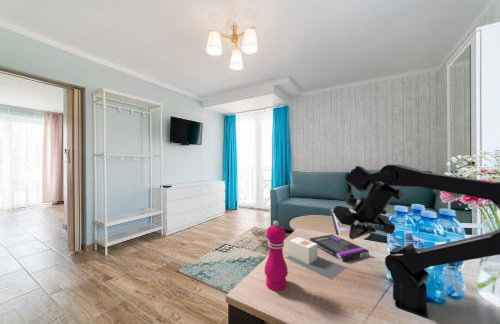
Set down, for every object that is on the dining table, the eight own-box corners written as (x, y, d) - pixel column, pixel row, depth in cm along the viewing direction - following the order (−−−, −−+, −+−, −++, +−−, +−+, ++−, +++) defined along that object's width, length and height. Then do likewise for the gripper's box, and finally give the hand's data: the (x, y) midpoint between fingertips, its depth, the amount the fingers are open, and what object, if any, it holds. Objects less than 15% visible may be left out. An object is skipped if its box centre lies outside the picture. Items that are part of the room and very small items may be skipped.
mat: (346, 268, 70) (346, 267, 70) (331, 280, 63) (331, 279, 63) (301, 250, 84) (301, 249, 84) (285, 258, 77) (285, 257, 77)
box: (368, 258, 79) (332, 240, 97) (369, 250, 79) (332, 233, 97) (343, 265, 74) (309, 244, 92) (343, 255, 74) (309, 236, 92)
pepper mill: (274, 295, 56) (274, 225, 56) (259, 282, 62) (259, 219, 62) (292, 286, 60) (292, 221, 60) (277, 275, 66) (276, 216, 66)
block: (317, 243, 76) (298, 236, 83) (308, 248, 72) (289, 240, 79) (317, 259, 76) (298, 251, 83) (308, 264, 72) (289, 255, 79)
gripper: (384, 192, 68) (361, 225, 74) (336, 181, 65) (316, 216, 71) (409, 214, 58) (380, 250, 64) (354, 201, 55) (329, 241, 61)
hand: (350, 238), depth 65 cm, fingers closed
